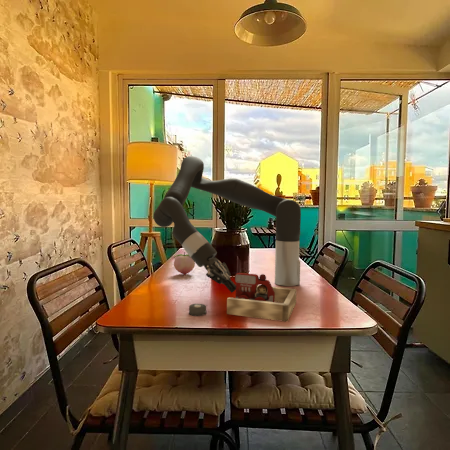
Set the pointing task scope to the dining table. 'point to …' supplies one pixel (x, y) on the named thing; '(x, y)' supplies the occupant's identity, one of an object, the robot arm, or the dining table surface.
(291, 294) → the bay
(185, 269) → the decorative fruit
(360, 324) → the dining table surface
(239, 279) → the toy fire truck
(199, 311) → the spare wheel
